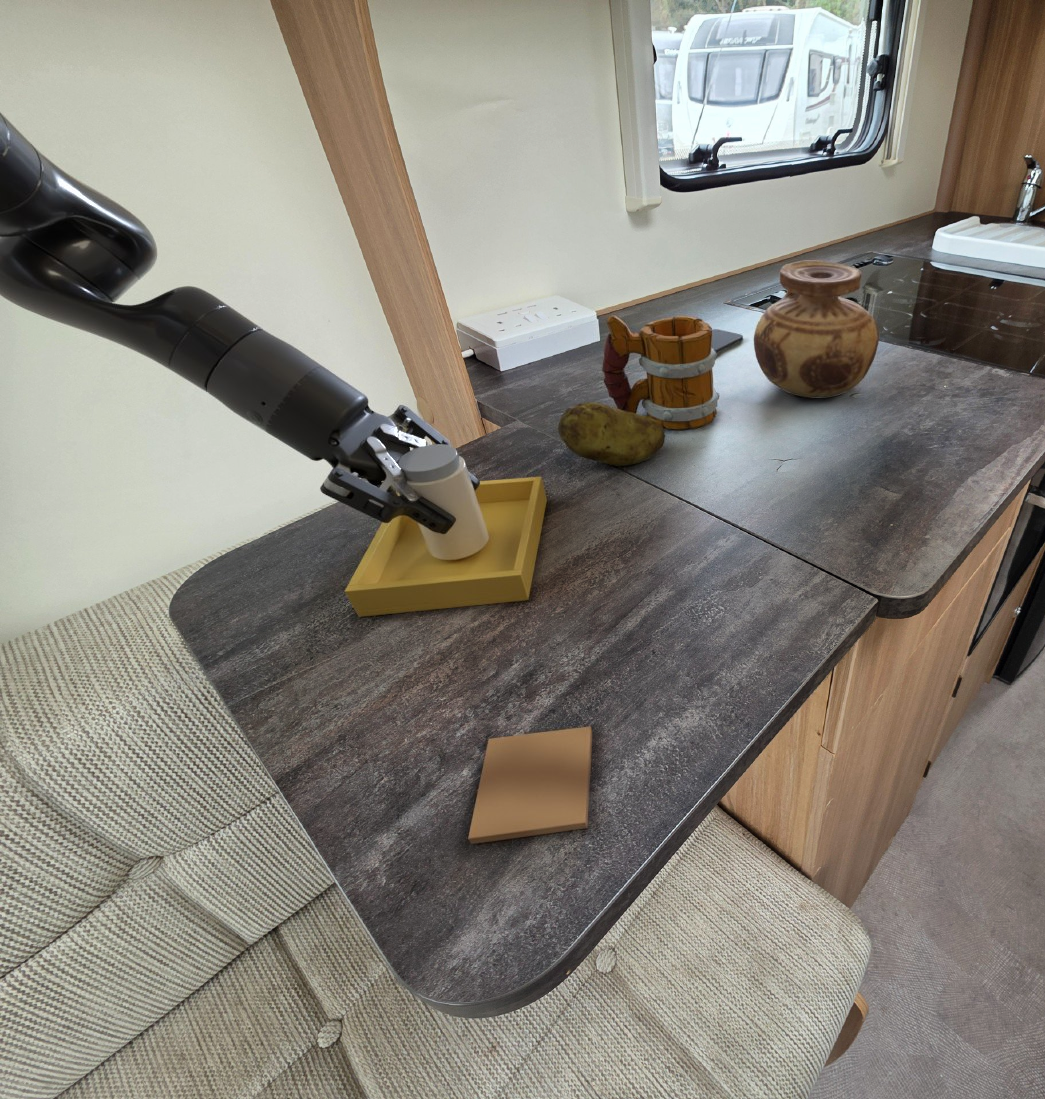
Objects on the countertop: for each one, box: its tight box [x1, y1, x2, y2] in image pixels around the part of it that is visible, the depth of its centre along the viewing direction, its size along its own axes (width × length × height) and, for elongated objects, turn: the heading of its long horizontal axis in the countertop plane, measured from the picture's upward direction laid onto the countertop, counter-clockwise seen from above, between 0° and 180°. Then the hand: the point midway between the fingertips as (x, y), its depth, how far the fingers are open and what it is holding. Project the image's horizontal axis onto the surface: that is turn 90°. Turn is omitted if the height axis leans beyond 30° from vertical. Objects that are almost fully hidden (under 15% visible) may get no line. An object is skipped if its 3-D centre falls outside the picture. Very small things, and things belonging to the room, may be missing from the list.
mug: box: [601, 314, 720, 431], centre depth 84 cm, size 11×16×15 cm, turn 102°
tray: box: [344, 476, 548, 618], centre depth 63 cm, size 18×16×3 cm
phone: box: [712, 328, 744, 354], centre depth 110 cm, size 7×1×15 cm
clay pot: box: [753, 259, 880, 399], centre depth 91 cm, size 19×19×20 cm
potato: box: [557, 402, 666, 467], centre depth 76 cm, size 8×13×8 cm, turn 92°
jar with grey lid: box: [398, 443, 489, 560], centre depth 59 cm, size 6×6×10 cm
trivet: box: [467, 726, 593, 845], centre depth 42 cm, size 8×8×1 cm
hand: (463, 507), depth 60 cm, fingers closed on jar with grey lid, 6 cm apart
